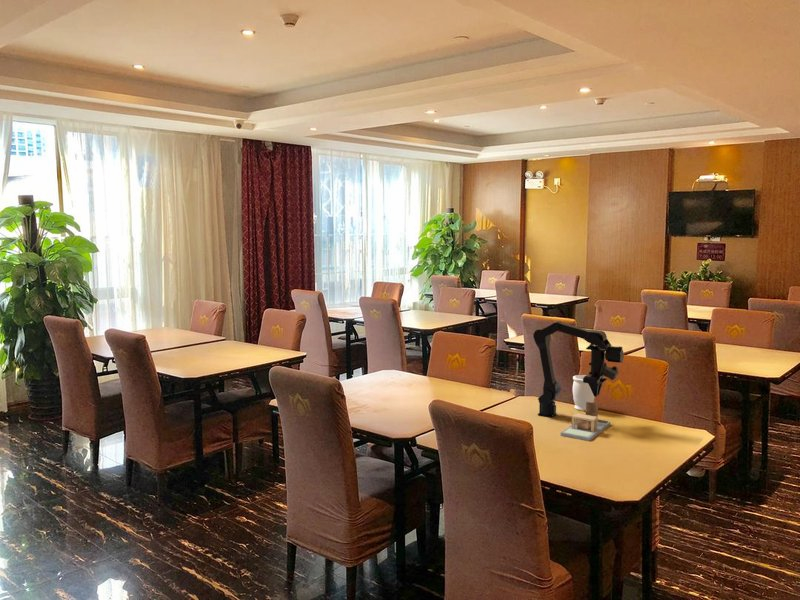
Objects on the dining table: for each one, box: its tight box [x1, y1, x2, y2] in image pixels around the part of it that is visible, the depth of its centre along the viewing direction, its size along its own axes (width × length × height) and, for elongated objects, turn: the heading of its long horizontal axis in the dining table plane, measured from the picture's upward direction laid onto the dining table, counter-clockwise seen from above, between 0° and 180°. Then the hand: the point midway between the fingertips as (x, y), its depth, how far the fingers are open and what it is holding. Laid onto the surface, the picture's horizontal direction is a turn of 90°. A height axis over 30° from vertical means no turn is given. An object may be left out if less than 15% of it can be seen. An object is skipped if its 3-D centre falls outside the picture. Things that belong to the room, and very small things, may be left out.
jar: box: [572, 374, 596, 412], centre depth 302 cm, size 11×10×15 cm
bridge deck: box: [560, 412, 611, 442], centre depth 272 cm, size 12×26×6 cm, turn 144°
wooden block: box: [577, 402, 599, 430], centre depth 273 cm, size 5×11×9 cm, turn 144°
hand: (596, 395), depth 280 cm, fingers open, 3 cm apart
